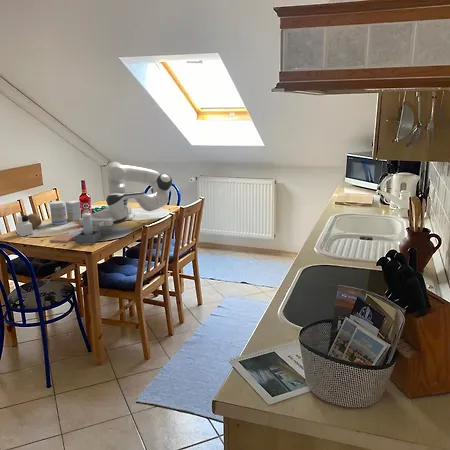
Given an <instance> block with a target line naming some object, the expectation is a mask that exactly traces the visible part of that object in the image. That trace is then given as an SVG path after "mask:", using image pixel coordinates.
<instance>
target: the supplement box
mask: <svg viewBox="0 0 450 450" xmlns="http://www.w3.org/2000/svg"><path fill="white" fill-rule="evenodd" d="M80 202H81V201H80V200H69V201H65V209H66V218H67V221H72V222H74V221H79V219H80V218H81V211H80Z"/></svg>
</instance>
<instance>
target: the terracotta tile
mask: <svg viewBox="0 0 450 450" xmlns="http://www.w3.org/2000/svg"><path fill="white" fill-rule="evenodd" d="M76 235H77V234H58V235H56V236H55V237H53V238H50V239H49V242H50V243H70V242H71V241H73V240H75V239H76V238H75V237H76ZM74 238H75V239H74Z"/></svg>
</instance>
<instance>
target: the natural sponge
mask: <svg viewBox="0 0 450 450" xmlns="http://www.w3.org/2000/svg"><path fill="white" fill-rule="evenodd" d="M27 216H28V218H29V222H30V223H32V229H33V230H36V229H38V227H40V226H41V225H42V219H41V217H40V216H39V215H38V214H36V213H30V214H28V215H27ZM35 228H36V229H35Z"/></svg>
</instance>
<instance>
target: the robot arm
mask: <svg viewBox="0 0 450 450" xmlns="http://www.w3.org/2000/svg"><path fill="white" fill-rule="evenodd" d="M106 171H107V172H106V173H107V182H108V184H107V185H108V193H109V194H108V195H107V197H106V200H105V201H106V205H107V207H106V208H103V209H101V210H100V211H97V212H90V213H91V218H92V227H93V226H97V227H103V226H104V227H109V226H112V225H113V224H115V225H116V224H121V223H122V222H123V223H124V222H125V221H126V222H127V221H130V220H131V221H132V220H133V219H134V218H135V216H136V213H134V212H133V209H132V206H130V205H129V203H128V201H129V200H130V199H134V200H135V201H136V203H138V205H139V206H140V208H142V209H143V210H144V211H146V212H153V211H156V210H159V209H161V208H163V207H165V206H166V205H168V203H169V196H168V195H169V193H170V191H171V187H172V185H173V180H172V177H171V176H170V175H169V174H166V173H162V174H161V173H160V172H159V171H157V170H154V169H150V168H145V167H140V166H135V165H127V164H126V165H125V164H121V163H120V162H117V161H113V162H110V163H109V165H108V166H107V169H106ZM126 182H127V183H135V184H140V185H146V186H150V191H151V193H149V194H148V193H147V194H146V193H145V192H144V191H130V192H127V190H126ZM134 215H135V216H134ZM133 217H134V218H133ZM78 224H79V226H82V227H83V219H82V218H80V219H79V220H78Z"/></svg>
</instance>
